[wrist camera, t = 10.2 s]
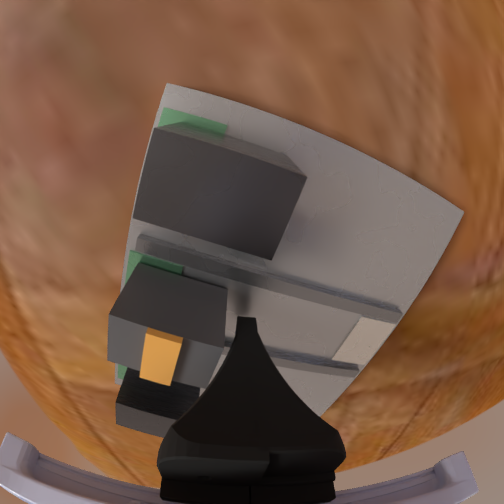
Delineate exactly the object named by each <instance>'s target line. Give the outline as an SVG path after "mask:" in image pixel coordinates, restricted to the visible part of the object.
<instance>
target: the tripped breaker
mask: <svg viewBox="0 0 504 504" xmlns="http://www.w3.org/2000/svg"><path fill="white" fill-rule="evenodd" d="M227 296H228V289H224V288H221V287H217V286H214V285H210V284H207V283H203V282H200V281H197V280H193V279H190V278H187V277H183V276H180V275H177V274H173V273H170V272H167V271H164V270H160V269H157V268H154V267H151V266H148V265H144V264H141V263H138V264H137V265H136V267H135V269H134V270H133V272H132V274H131V276H130V277H129V279H128V281H127V283H126V284H125V286H124V288H123V290H122V291H121V293H120V295H119V297H118V298H117V300H116V302H115V304H114V306H113V308H112V309H111V311H110V313H109V322H108V361H111V362H114V363H117V364H120V365H123V366H126V367H129V368H132V369H135V370H138V371H140V378H143V379H147V380H150V381H153V382H157V383H160V384H164V385H167V386H170V384H171V381H176V382H180V383H184V384H188V385H192V386H196V387H200V388H204V389H206V388H207V386H208V384H209V382H210V380H211V377H212V375H213V373H214V370H215V368H216V366H217V364H218V361H219V359H220V357H221V354H222V352H223V350H224V342H225V326H226V311H227Z"/></svg>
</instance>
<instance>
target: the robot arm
mask: <svg viewBox="0 0 504 504" xmlns="http://www.w3.org/2000/svg"><path fill="white" fill-rule="evenodd" d="M345 458H346V451H345V447H344V444H343V442H342V439H341V437H340V434H339V432H338V431H337V430H336V429H335V428H333V427H332V426H330V425H329V424H328V423H326V422H325V421H324V420H323V419H321V418H320V417H319V416H318V415H317V414H316V413H315V412H313V411H312V410H311V409H310V408H309V407H308V406H307V405H306V404H305V403H304V402H303V401H302V400H301V398H300V397H299V396H298V395H297V394H296V393H295V392H294V391H293V389H292V388H291V387H290V386H289V385H288V383H287V382H286V381H285V379H284V378H283V377H282V375H281V374H280V372H279V371H278V369H277V368H276V366H275V364H274V363H273V361H272V359H271V358H270V356H269V354H268V352H267V350H266V348H265V346H264V344H263V342H262V340H261V338H260V335H259V333H258V328H257V321H256V318H255V317H242V316H237V323H236V331H235V337H234V340H233V342H232V345H231V347H230V350H229V352H228V354H227V356H226V358H225V360H224V361H223V363H222V365H221V367H220V369H219V370H218V372H217V374H216V375H215V377H214V378H213V380H212V381H211V382H210V384H209V385H208V387H207V388H206V389H205V391H204V392H203V393H202V394H201V396H200V397H199V398H198V399H197V400H196V401H195V402H194V404H193V405H192V406H191V407H190V408H189V409H188V410H187V411H186V412H185V413H184V414H183V415H182V416H181V417H180V418H179V419H178V420H177V421H175V422H174V423H173V424H172V425H171V427H170V428H169V430H168V432H167V433H166V435H165V437H164V439H163V441H162V443H161V446H160V449H159V452H158V458H157V467H158V469H159V472H160V474H161V476H162V481H161V488H160V489H155V488H150V487H145V486H140V485H136V484H131V483H127V482H123V481H119V480H115V479H112V478H108V477H104V476H101V475H98V474H94V473H91V472H88V471H85V470H82V469H79V468H76V467H74V466H71V465H68V464H66V463H63V462H60V461H58V460H55V459H53V458H50V457H48V456H45V455H43V454H41V453H39V451H38V450H37V449H36V448H35V447H34V446H33V445H32V444H30V443H29V442H27V441H25V440H23V439H21V438H19V437H17V436H15V435H13V434H11V433H9V432H8V433H6V435H5V437H4V440H3V442H2V445H1V447H0V486H1V487H3V488H4V489H5V490H7V491H8V492H10V493H12V494H13V495H15V496H16V497H18V498H20V499H21V500H23V501H25V502H27V503H29V504H459V503H461V502H463V501H464V500H466V499H468V498H469V497H471V496H473V495H474V494H476V493H477V492H478V490H479V489H478V487H477V484H476V481H475V479H474V476H473V473H472V471H471V468H470V466H469V464H468V461H467V459H466V456H465V454H464V452H463V451H461V452H458V453H456V454H453V455H451V456H448V457H446V458H444V459H442V460H441V461H439V462H438V463H437V464H435V465H434V467H432V468H429V469H426V470H423V471H420V472H417V473H414V474H411V475H407V476H404V477H401V478H396V479H393V480H389V481H385V482H381V483H377V484H372V485H368V486H363V487H358V488H353V489H347V490H341V491H335V489H334V483H333V481H334V480H335V472H334V470H335V469H336V468H337V467H338V466H339V465H340V464H341V463H342V462H343V461H344V459H345Z"/></svg>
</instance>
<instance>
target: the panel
mask: <svg viewBox="0 0 504 504" xmlns="http://www.w3.org/2000/svg"><path fill="white" fill-rule="evenodd" d="M463 214H464V211H462V210H461V209H459V208H458V207H456V206H455V205H453V204H452V203H450V202H449V201H447V200H445V199H444V198H442V197H441V196H439V195H438V194H436V193H434V192H433V191H431V190H429V189H428V188H426V187H425V186H423V185H421V184H420V183H418V182H416V181H414V180H413V179H411V178H409V177H407V176H406V175H404V174H402V173H400V172H399V171H397V170H395V169H393V168H391V167H389V166H387V165H386V164H384V163H382V162H380V161H378V160H376V159H374V158H372V157H370V156H368V155H366V154H364V153H362V152H360V151H358V150H356V149H354V148H352V147H350V146H348V145H345V144H343V143H341V142H339V141H337V140H335V139H332V138H330V137H328V136H326V135H323V134H321V133H319V132H316V131H314V130H312V129H309V128H307V127H304V126H302V125H299V124H297V123H294V122H292V121H289V120H287V119H284V118H281V117H279V116H276V115H273V114H271V113H268V112H265V111H262V110H259V109H256V108H253V107H250V106H247V105H244V104H241V103H238V102H235V101H232V100H229V99H225V98H222V97H219V96H215V95H212V94H208V93H205V92H201V91H197V90H194V89H190V88H186V87H182V86H178V85H173V84H169V83H167V84H166V87H165V90H164V93H163V96H162V99H161V102H160V106H159V109H158V112H157V115H156V119H155V122H154V125H153V129H152V132H151V136H150V139H149V143H148V147H147V151H146V154H145V158H144V162H143V166H142V171H141V175H140V179H139V183H138V188H137V193H136V197H135V202H134V207H133V212H132V217H131V223H130V228H129V234H128V240H127V246H126V253H125V260H124V267H123V274H122V283H121V291H122V290H123V288H124V286H125V284H126V283H127V281H128V279H129V277H130V276H131V274H132V272H133V270H134V269H135V267H136V265H137V264H138V263H141V264H144V265H148V266H151V267H154V268H157V269H160V270H164V271H167V272H170V273H173V274H177V275H180V276H183V277H187V278H190V279H193V280H197V281H200V282H203V283H207V284H210V285H214V286H217V287H221V288H224V289H228V296H227V311H226V326H225V342H224V350H223V352H222V354H221V357H220V359H219V361H218V364H217V366H216V368H215V370H214V373H213V375H212V377H211V380H210V382H211V381H212V380H213V378H214V377H215V375H216V374H217V372H218V370H219V369H220V367H221V365H222V363H223V361H224V360H225V358H226V356H227V354H228V352H229V350H230V347H231V345H232V342H233V340H234V337H235V331H236V323H237V316H242V317H255V318H256V321H257V328H258V333H259V335H260V338H261V340H262V342H263V344H264V346H265V348H266V350H267V352H268V354H269V356H270V358H271V359H272V361H273V363H274V364H275V366H276V368H277V369H278V371H279V372H280V374H281V375H282V377H283V378H284V379H285V381H286V382H287V383H288V385H289V386H290V387H291V388H292V389H293V391H294V392H295V393H296V394H297V395H298V396H299V397H300V398H301V400H302V401H303V402H304V403H305V404H306V405H307V406H308V407H309V408H310V409H311V410H312V411H313V412H315V413H316V414H317V415H318V416H319V417H320V416H321V415H322V414H323V413H324V412H325V411H326V410H327V409H328V408H329V407H330V406H331V405H332V404H333V403H334V402H335V400H336V399H337V398H338V397H339V396H340V395H341V394H342V393H343V392H344V391H345V389H346V388H347V387H348V386H349V385H350V384H351V383H352V382H353V380H354V379H355V378H356V377H357V376H358V375H359V373H360V372H361V371H362V370H363V369H364V367H365V366H366V365H367V364H368V362H369V361H370V360H371V359H372V358H373V356H374V355H375V354H376V353H377V351H378V350H379V349H380V347H381V346H382V345H383V343H384V342H385V341H386V340H387V338H388V337H389V336H390V334H391V333H392V331H393V330H394V329H395V327H396V326H397V325H398V323H399V322H400V320H401V319H402V318H403V316H404V315H405V313H406V312H407V310H408V309H409V307H410V306H411V304H412V303H413V301H414V300H415V298H416V297H417V295H418V294H419V292H420V291H421V289H422V287H423V286H424V284H425V283H426V281H427V279H428V278H429V276H430V275H431V273H432V271H433V270H434V268H435V266H436V264H437V263H438V261H439V259H440V258H441V256H442V254H443V252H444V250H445V249H446V247H447V245H448V243H449V241H450V239H451V237H452V236H453V234H454V232H455V230H456V228H457V226H458V224H459V222H460V220H461V218H462V216H463ZM121 291H120V293H121ZM210 382H209V384H210ZM115 384H118V385H121V388H120V391H119V394H118V397H117V400H116V424H118V425H121V426H124V427H127V428H130V429H134V430H137V431H141V432H144V433H148V434H151V435H155V436H159V437H163V438H164V437H165V435H166V433H167V432H168V430H169V428H170V427H171V425H172V424H173V423H174V422H175V421H177V420H178V419H179V418H180V417H181V416H182V415H183V414H184V413H185V412H186V411H187V410H188V409H189V408H190V407H191V406H192V405H193V404H194V402H195V401H196V400H197V399H198V398H199V397H200V396H201V394H202V393H203V392H204V391H205V389H204V388H200V387H196V386H192V385H188V384H184V383H180V382H176V381H171V384H170V386H167V385H164V384H160V383H157V382H153V381H150V380H147V379H143V378H140V371H138V370H135V369H132V368H129V367H126V366H123V365H120V364H117V363H115ZM209 384H208V385H209ZM207 387H208V386H207Z"/></svg>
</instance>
